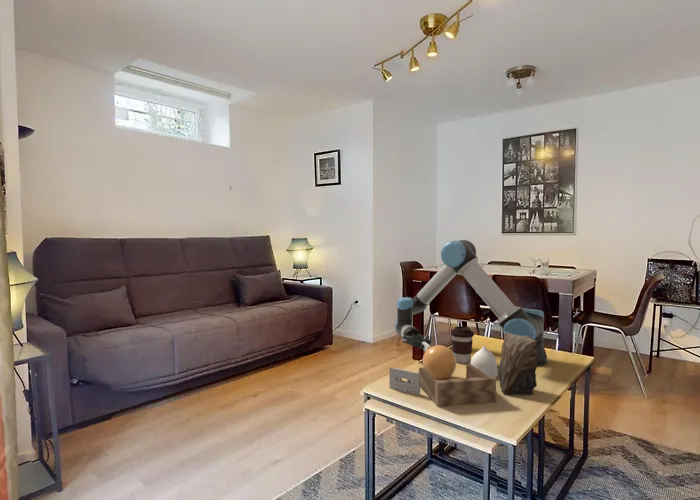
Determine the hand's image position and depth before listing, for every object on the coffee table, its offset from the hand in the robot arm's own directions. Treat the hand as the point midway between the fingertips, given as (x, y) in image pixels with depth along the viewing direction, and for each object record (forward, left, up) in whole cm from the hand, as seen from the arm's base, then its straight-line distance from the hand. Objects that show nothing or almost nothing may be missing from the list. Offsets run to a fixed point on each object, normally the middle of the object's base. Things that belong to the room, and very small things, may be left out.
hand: (428, 349), depth 175 cm
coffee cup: (-18, -7, -9) cm, 22 cm away
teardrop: (-20, +9, -9) cm, 24 cm away
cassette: (+17, +20, -9) cm, 28 cm away
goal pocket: (0, +26, -8) cm, 27 cm away
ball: (0, +11, -2) cm, 11 cm away
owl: (-22, +27, -9) cm, 36 cm away
